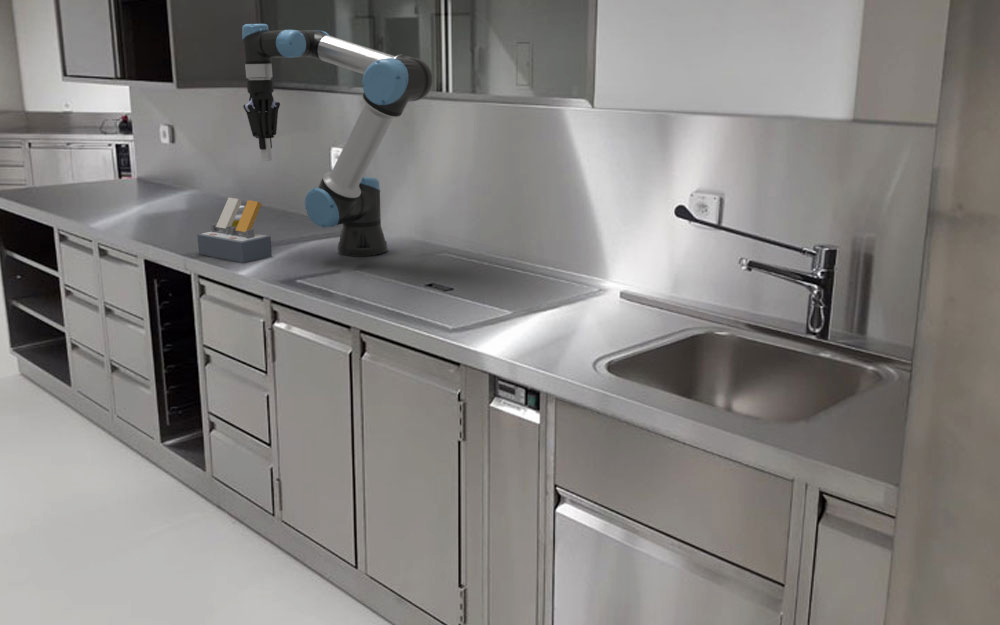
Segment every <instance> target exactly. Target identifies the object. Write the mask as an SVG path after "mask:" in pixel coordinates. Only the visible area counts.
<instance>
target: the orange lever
mask: <svg viewBox="0 0 1000 625" xmlns="http://www.w3.org/2000/svg"><path fill="white" fill-rule="evenodd" d="M262 205H263V204H262V203H261V202H260V201H255V200H250V199H248V200H247V202H246V204H245V205H244V206H245V208H244V211H243V213H242V216H241V218H240V220H239V223H238V225H237V228H236V229H235V230H234V233H236V234H241V235H246V230H251V229H253V225H254V223H255V221H256V219H257V217H258V215H259V212H260V209H261V207H262Z"/></svg>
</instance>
